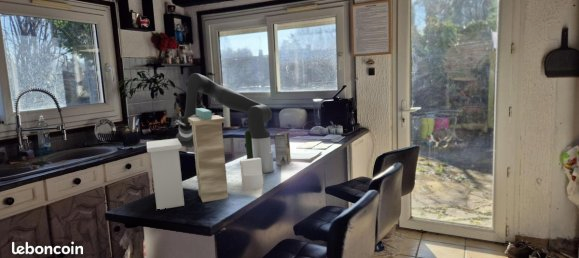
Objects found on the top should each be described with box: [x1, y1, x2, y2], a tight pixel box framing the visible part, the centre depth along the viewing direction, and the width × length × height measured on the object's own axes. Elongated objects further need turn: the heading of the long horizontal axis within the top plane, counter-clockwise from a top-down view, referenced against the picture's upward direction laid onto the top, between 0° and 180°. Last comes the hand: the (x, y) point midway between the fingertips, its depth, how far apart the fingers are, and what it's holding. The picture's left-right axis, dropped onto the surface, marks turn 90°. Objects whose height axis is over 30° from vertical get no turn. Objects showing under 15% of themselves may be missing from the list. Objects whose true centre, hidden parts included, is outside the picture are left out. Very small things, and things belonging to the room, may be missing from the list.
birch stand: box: [188, 114, 229, 203], centre depth 158 cm, size 18×12×32 cm, turn 20°
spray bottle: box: [244, 117, 253, 159], centre depth 227 cm, size 10×10×25 cm
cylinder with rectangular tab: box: [239, 158, 264, 190], centre depth 170 cm, size 9×9×12 cm
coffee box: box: [273, 132, 292, 166], centre depth 212 cm, size 9×6×16 cm
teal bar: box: [196, 107, 213, 120], centre depth 161 cm, size 24×3×3 cm, turn 20°
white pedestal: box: [146, 138, 185, 210], centre depth 153 cm, size 18×12×24 cm, turn 20°
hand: (188, 113), depth 182 cm, fingers open, 8 cm apart
